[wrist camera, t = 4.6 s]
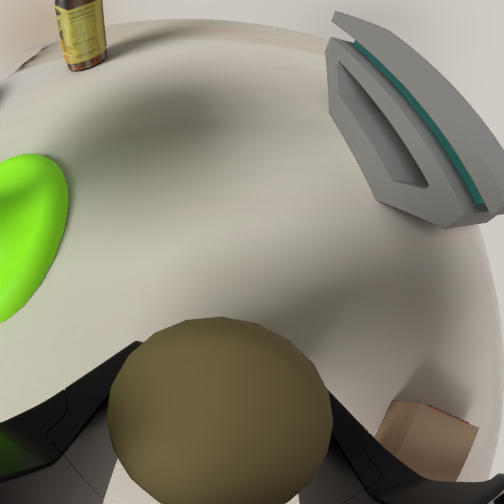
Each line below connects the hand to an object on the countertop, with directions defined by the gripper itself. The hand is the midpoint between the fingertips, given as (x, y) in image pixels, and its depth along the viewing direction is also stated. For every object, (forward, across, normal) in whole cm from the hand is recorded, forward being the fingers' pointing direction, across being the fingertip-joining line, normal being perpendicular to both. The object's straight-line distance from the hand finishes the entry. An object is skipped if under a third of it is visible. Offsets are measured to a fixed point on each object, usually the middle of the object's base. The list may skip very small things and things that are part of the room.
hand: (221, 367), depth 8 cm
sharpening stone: (+20, -13, -10) cm, 26 cm away
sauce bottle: (+27, +25, -17) cm, 41 cm away
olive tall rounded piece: (+4, 0, +6) cm, 7 cm away
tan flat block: (-1, -15, +10) cm, 18 cm away
